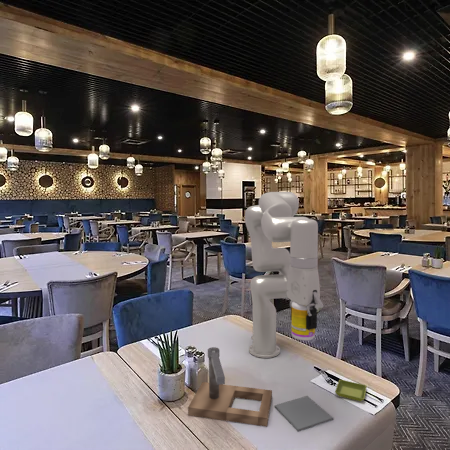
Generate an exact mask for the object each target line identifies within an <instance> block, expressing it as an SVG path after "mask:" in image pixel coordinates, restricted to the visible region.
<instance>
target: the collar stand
mask: <svg viewBox="0 0 450 450" xmlns="http://www.w3.org/2000/svg"><path fill="white" fill-rule="evenodd" d="M235 399H241V400H249V401H257V402H260V407H259V410H253V409H252V410H251V409H245V408H236V407H232V406H233V404H234V401H235ZM272 399H273V390H271V389H266V388H256V387H247V386H240V385H239V386H238V385H231V384H220V385H217V382H216V378H215V374H214V370H213V366H212V361H211V359H210V358H208V382H207V381H202V382H201V384H200V386H199V387H198V389H197V391H196V392H195V395H194V396H193V397H192V399H191V401H190V403H189V404H188V406H187V415H188V416H191V417H198V418H203V419H204V418H205V419H211V420H219V421H226V422H232V423H241V424H245V425H254V426H260V427H268V422H269V417H270V413H271V412H270V411H271V405H272V401H273V400H272Z"/></svg>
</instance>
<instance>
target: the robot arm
mask: <svg viewBox="0 0 450 450" xmlns="http://www.w3.org/2000/svg"><path fill="white" fill-rule="evenodd" d="M299 204H300V203H299V199H298V196H297V195H296V194H295V193H294V192H292V191H269V192H265V193H263V194H261V196H260V197H259V199H258V204H257V205H252V206H249V207H247V209H245V211H244V221H245V227H246V229H247V232H248V234H249V237H250V246H251V248H250V249H251V261H252V262H251V263H252V267H253V270H255V271H256V272H259V273H261V272H262V273H264V272H265V273H267V272H268V273H269V272H279V274H263V275H262V274H261V275H256V276H254V277H253V278H251V280H250V283H249V288H250V293H251V294H250V295H251V301H252V336H251V338H250V339H251V340H252V344H251V345H250V346H249V347H248V350H249V351H248V352H249V353H250V354H251V356H252V355H253V357H256V358H263V359H269V358H270V359H271V358H274V357H277V356H278V355H279V354H280V353H281V348H280V346H278V345H277V309H276V307H275V305H274V303H272V302H271V300H272V299H286V298H287V299H288V300H289V307H290V321H292V302H293V301H294V302H296V303H298V304H300V305H302V306H306V309H307V313H308V315H306V329H307V330H310V329H315V330H316V329H317V327H318V324H317V323H318V315H319V313H320V312H321V310H322V309H323V308H324V304H323V301H322V299H321V289H320V288H321V286H320V275H319V270H318V266H319V264H318V260H319V257H318V256H319V255H318V254H319V253H318V252H319V250H318V249H319V245H318V244H319V242H318V241H319V232H318V231H319V225H318V224H319V223H318V221H316V220H315V219H313V218H309V217H306V216H295V215H296V214H297V212H298V210H299ZM272 242H273V243H289V244H290V245H289V246H290V247H289V248H290V249H289V250H290V251H289V250H288V249H287V248H284V247H273V244H272ZM311 302H312V304H310V303H311ZM310 306H313V309H312V310H311V308H310Z"/></svg>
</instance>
